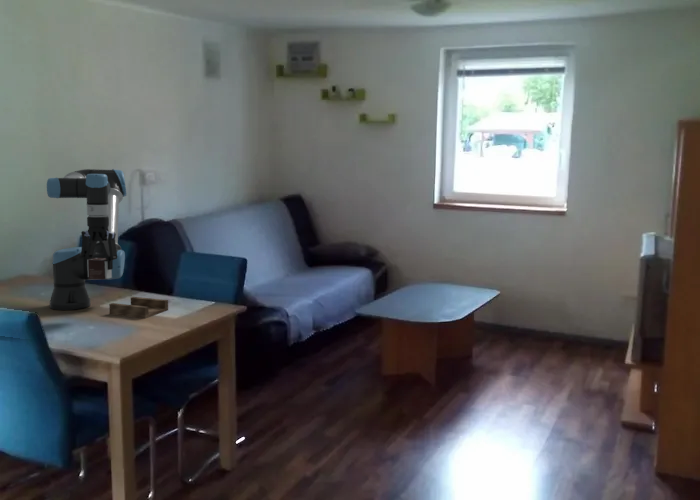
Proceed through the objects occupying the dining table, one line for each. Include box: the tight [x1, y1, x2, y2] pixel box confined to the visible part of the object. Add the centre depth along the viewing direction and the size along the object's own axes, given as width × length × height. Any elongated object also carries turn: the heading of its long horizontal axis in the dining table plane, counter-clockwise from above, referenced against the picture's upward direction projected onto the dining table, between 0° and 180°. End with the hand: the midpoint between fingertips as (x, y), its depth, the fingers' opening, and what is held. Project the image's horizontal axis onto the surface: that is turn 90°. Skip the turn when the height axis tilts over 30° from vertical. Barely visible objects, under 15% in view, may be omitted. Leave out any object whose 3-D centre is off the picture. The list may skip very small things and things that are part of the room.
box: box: [88, 258, 106, 281], centre depth 255 cm, size 6×6×7 cm
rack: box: [108, 296, 169, 319], centre depth 266 cm, size 16×15×4 cm
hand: (99, 277), depth 255 cm, fingers closed on box, 7 cm apart
